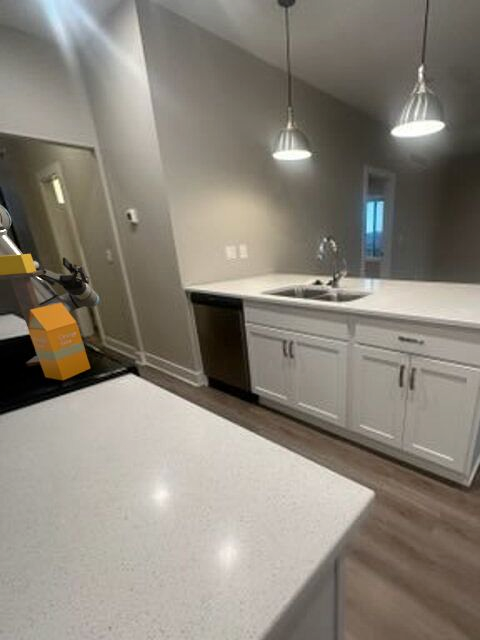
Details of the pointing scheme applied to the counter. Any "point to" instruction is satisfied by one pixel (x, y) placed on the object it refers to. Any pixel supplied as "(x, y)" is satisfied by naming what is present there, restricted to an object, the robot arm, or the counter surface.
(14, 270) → the yellow rectangular block
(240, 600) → the counter surface
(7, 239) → the robot arm
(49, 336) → the orange juice
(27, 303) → the tall stand
